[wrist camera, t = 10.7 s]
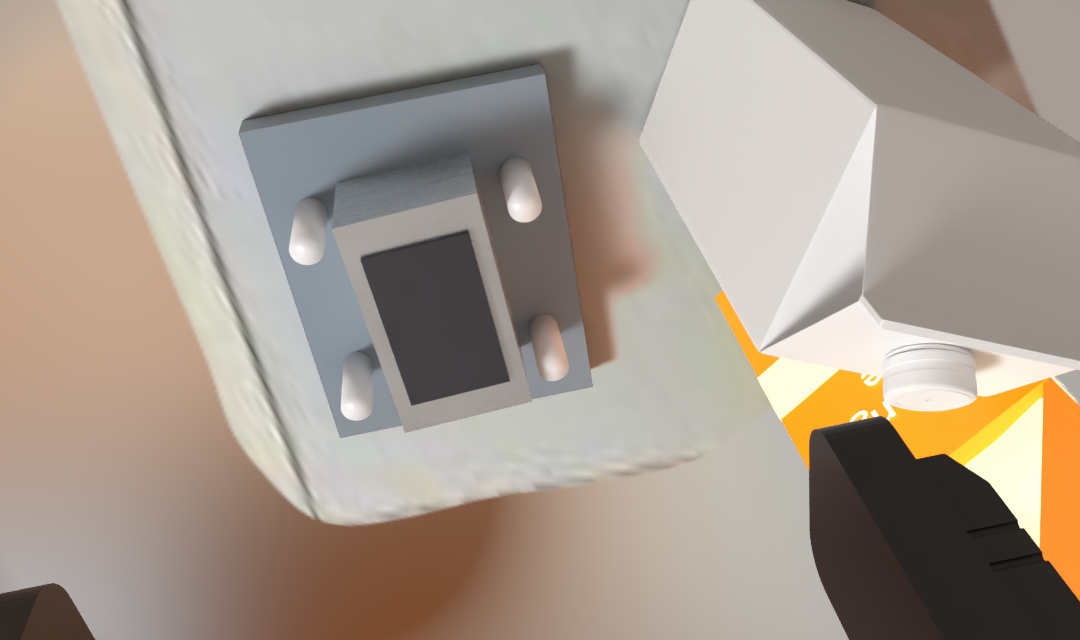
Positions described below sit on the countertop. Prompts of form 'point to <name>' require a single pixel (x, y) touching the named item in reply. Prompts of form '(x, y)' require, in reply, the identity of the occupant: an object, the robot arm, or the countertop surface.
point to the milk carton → (871, 199)
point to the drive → (431, 290)
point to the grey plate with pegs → (400, 139)
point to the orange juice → (953, 438)
